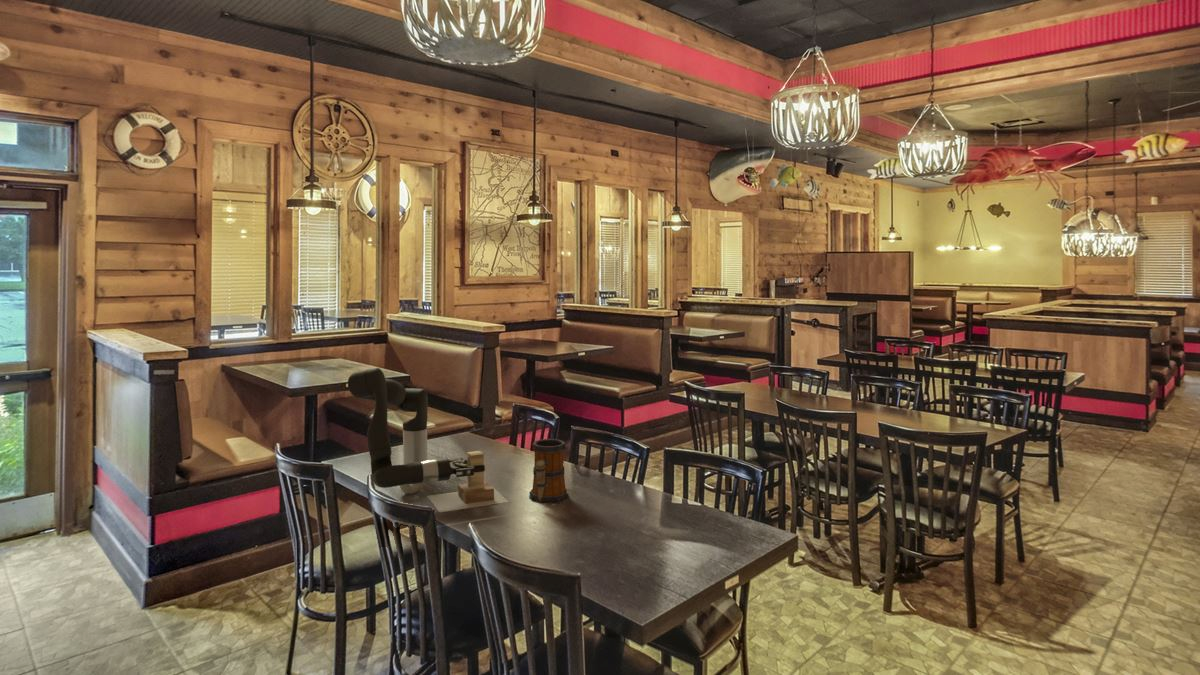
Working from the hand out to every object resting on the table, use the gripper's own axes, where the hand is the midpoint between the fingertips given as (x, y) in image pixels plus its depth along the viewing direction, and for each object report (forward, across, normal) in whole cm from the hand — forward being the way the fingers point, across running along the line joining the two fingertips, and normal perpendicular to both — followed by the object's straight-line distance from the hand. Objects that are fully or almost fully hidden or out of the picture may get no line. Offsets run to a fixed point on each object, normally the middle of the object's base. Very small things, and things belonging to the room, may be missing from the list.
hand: (480, 464), depth 241 cm
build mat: (-5, 0, +12) cm, 13 cm away
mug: (+20, -12, +12) cm, 26 cm away
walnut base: (-2, 0, +12) cm, 12 cm away
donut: (-21, +15, +12) cm, 29 cm away
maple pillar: (-2, 0, +8) cm, 8 cm away
